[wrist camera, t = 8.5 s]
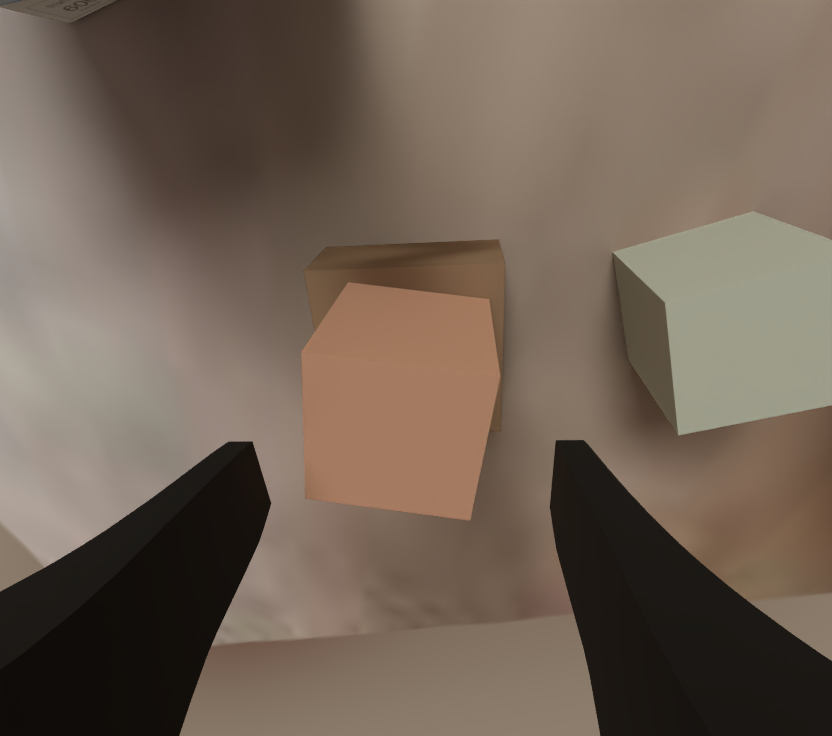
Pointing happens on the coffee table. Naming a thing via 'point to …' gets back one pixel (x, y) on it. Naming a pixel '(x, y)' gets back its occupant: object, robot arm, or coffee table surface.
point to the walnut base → (416, 278)
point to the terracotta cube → (399, 400)
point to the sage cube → (730, 321)
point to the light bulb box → (56, 8)
